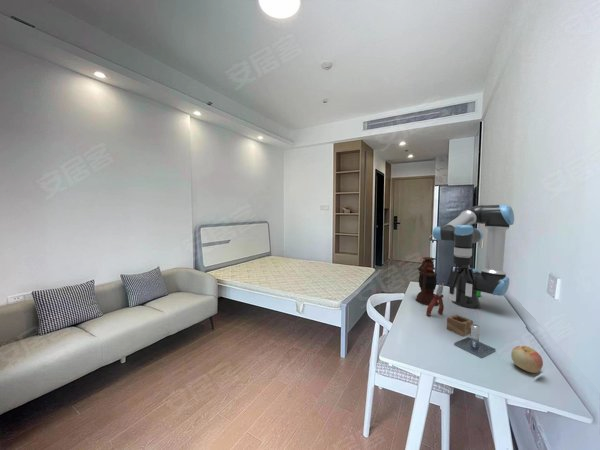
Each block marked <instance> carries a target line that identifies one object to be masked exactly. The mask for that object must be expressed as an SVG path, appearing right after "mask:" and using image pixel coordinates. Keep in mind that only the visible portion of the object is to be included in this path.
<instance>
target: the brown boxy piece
mask: <svg viewBox="0 0 600 450" xmlns="http://www.w3.org/2000/svg"><path fill="white" fill-rule="evenodd" d="M472 324H474V321H473V320H471V319H470V318H467V317H463V316H462V315H461V316H460V315H459V314H454V315H451V316H449V317H446V330H448V331H450V332H453V333H455V334H457V335H460V336H461V337H466V336H468V335H471V325H472Z"/></svg>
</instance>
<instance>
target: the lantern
mask: <svg viewBox="0 0 600 450" xmlns="http://www.w3.org/2000/svg"><path fill="white" fill-rule="evenodd" d="M422 259H423V261H422V262H421V265H420V267H418V268H417V270H418V274H419V277H418V286H419V288H420V292H418V294H417V295H416V298H415V301H416V302H417V303H418V304H421V305H424V306H427V307H428V306H429V304H430V303H431V301H432V300H433V298H434V295H435V294H436V293H434V292H435V290H436V289H437V288H436V287H437V275H438V274H437V273H436V272H435V271H434V270H436V268H435V267H434V266H435V258H434V257H431V256H424V257H422ZM437 306H438V307H439V301H437V302H436V304H435V305H434V307H437Z"/></svg>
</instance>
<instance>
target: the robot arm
mask: <svg viewBox="0 0 600 450" xmlns="http://www.w3.org/2000/svg"><path fill="white" fill-rule="evenodd" d="M474 224H483V225H484V227H485V229H487V233H486V235H487V236H486V247H485V261H484V268H483V269H481V270H480V271H481V272H479V270H478V269H477V268H473V264H472V261H473V258H472V257H473V244H476V243H478V242H481V240H482V239H483V236H484V234H483V232H482V230H480V229H479V228H475V227H474V226H473V225H474ZM514 224H515V213H514V210H513V208H512V206H511V205H509V204H487V205H486V204H483V205H482V204H479V205H475V206H472V207H469V208H466V209H464V210H462V211H461V212H460V214H459V216H457V217H456V218H454V219H453V220H451V221H450V222H448V223H446V224H445V225H444V226H435V227H434V228H433V230H432V237H433V239H434V240H437V241H446V242H453V243H454V244H453V260H452V261H453V264H454V265H455V266H451V267H450V273H449V276H448V279H447V281H446V286H447V287H449V293H448V295H449V297H448V298H449V299H448V300H450V301H451V302H452V303H453V304H455V305H457V306H458V307H463V308H468V309H478V308H480V307H481V302H480V299H479V296H477V291H480V292H481V293H485V294H491V295H493V296H499V297H503V296H505V295H506V293H507V291H508V289H509V286H510V277H508V276H507V274H506V271H504V270H503V269H504V259H505V245H506V232H507V230H509V229H510V226H512V225H514Z"/></svg>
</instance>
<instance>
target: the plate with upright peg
mask: <svg viewBox="0 0 600 450" xmlns="http://www.w3.org/2000/svg"><path fill="white" fill-rule="evenodd" d="M453 346H456V347H458V348H460V349H461V350H463V351H466V352H468V353H470V354H471V355H475V356H476V357H479V358H480V359H483V358H484V357H487V356H489V355H490V354H493V353H494V352H496V348H494V347H492V346H489V345H487V344H485V343H484V342H481V341H480V326H479V325H477V324H474V323H473V324H472V325H471V333H470V337H469V336H467V337H465V338H462V339H460V340H457V341H455V342H454V344H453Z"/></svg>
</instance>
